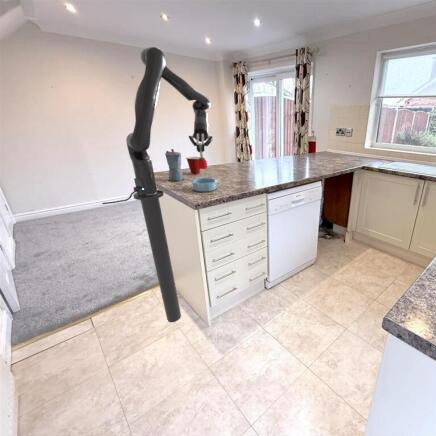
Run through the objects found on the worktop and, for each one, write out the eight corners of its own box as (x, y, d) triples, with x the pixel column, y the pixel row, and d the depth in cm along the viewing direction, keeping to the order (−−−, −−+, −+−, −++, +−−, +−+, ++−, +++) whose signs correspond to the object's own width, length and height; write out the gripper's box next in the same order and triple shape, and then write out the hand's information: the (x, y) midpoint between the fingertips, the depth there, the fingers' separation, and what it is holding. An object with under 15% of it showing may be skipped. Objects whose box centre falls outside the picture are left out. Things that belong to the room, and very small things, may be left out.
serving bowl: (205, 193, 139) (204, 185, 137) (188, 189, 144) (186, 181, 142) (221, 187, 150) (221, 179, 148) (205, 184, 155) (204, 176, 153)
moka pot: (176, 183, 156) (171, 150, 148) (162, 179, 163) (156, 148, 155) (189, 180, 164) (185, 149, 156) (175, 176, 171) (170, 146, 163)
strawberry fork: (203, 169, 139) (200, 143, 134) (196, 168, 141) (193, 142, 135) (209, 167, 143) (206, 142, 137) (203, 166, 145) (200, 142, 139)
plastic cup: (206, 172, 185) (204, 156, 180) (197, 175, 175) (195, 158, 170) (194, 171, 187) (192, 155, 183) (184, 174, 178) (182, 157, 173)
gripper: (187, 121, 138) (186, 147, 132) (212, 122, 140) (212, 147, 134) (190, 130, 144) (189, 155, 138) (214, 131, 147) (214, 155, 141)
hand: (200, 151), depth 136 cm, fingers closed on strawberry fork, 1 cm apart
